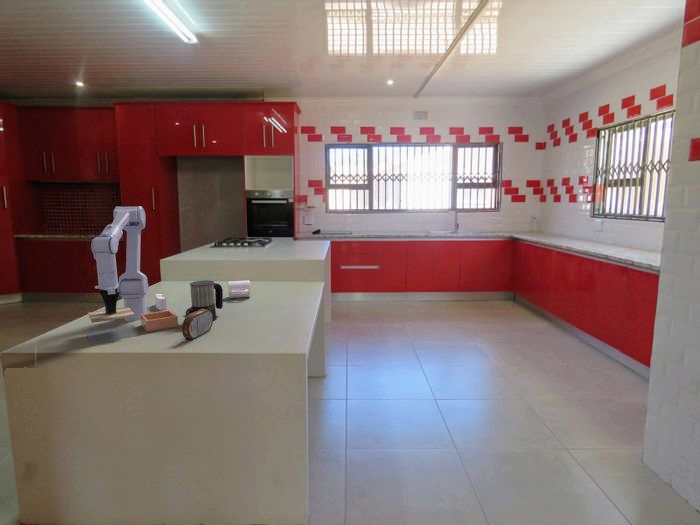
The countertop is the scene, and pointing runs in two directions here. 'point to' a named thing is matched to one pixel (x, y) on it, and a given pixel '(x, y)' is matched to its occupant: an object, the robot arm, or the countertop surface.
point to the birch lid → (110, 314)
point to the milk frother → (205, 297)
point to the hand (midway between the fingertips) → (111, 311)
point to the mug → (239, 289)
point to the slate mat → (112, 334)
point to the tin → (197, 323)
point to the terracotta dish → (159, 321)
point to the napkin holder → (160, 301)
